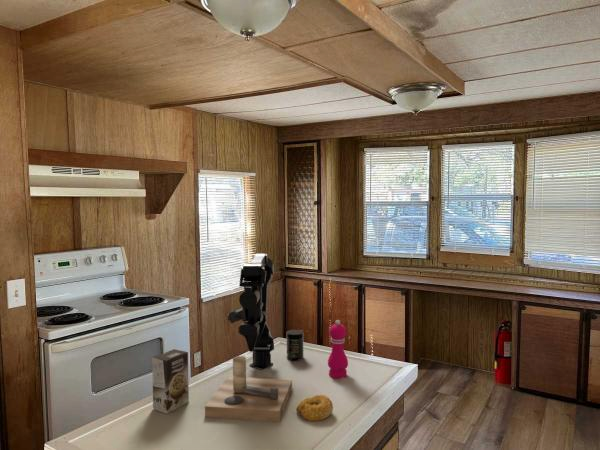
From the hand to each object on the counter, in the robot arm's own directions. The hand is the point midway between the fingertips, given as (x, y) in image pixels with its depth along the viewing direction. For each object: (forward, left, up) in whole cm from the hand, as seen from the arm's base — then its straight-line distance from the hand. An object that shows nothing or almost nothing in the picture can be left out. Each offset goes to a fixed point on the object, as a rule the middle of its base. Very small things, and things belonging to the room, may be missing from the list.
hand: (253, 346), depth 153 cm
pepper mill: (+18, +24, -13) cm, 33 cm away
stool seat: (+8, -10, -13) cm, 18 cm away
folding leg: (+11, -10, -10) cm, 18 cm away
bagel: (+29, -4, -14) cm, 32 cm away
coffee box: (-9, -27, -13) cm, 31 cm away
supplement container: (-5, +28, -13) cm, 31 cm away
